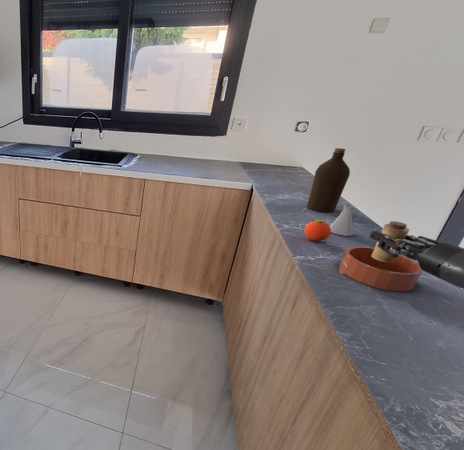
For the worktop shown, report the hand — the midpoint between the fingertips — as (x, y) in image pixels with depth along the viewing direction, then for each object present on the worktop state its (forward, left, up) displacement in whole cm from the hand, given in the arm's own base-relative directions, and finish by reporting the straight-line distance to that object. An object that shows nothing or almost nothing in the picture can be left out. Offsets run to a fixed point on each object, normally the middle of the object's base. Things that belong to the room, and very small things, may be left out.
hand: (381, 233), depth 81 cm
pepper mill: (-1, +3, -6) cm, 7 cm away
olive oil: (-9, -55, -12) cm, 57 cm away
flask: (-6, -30, -12) cm, 33 cm away
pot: (-1, +2, -12) cm, 13 cm away
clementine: (+5, -21, -12) cm, 25 cm away
